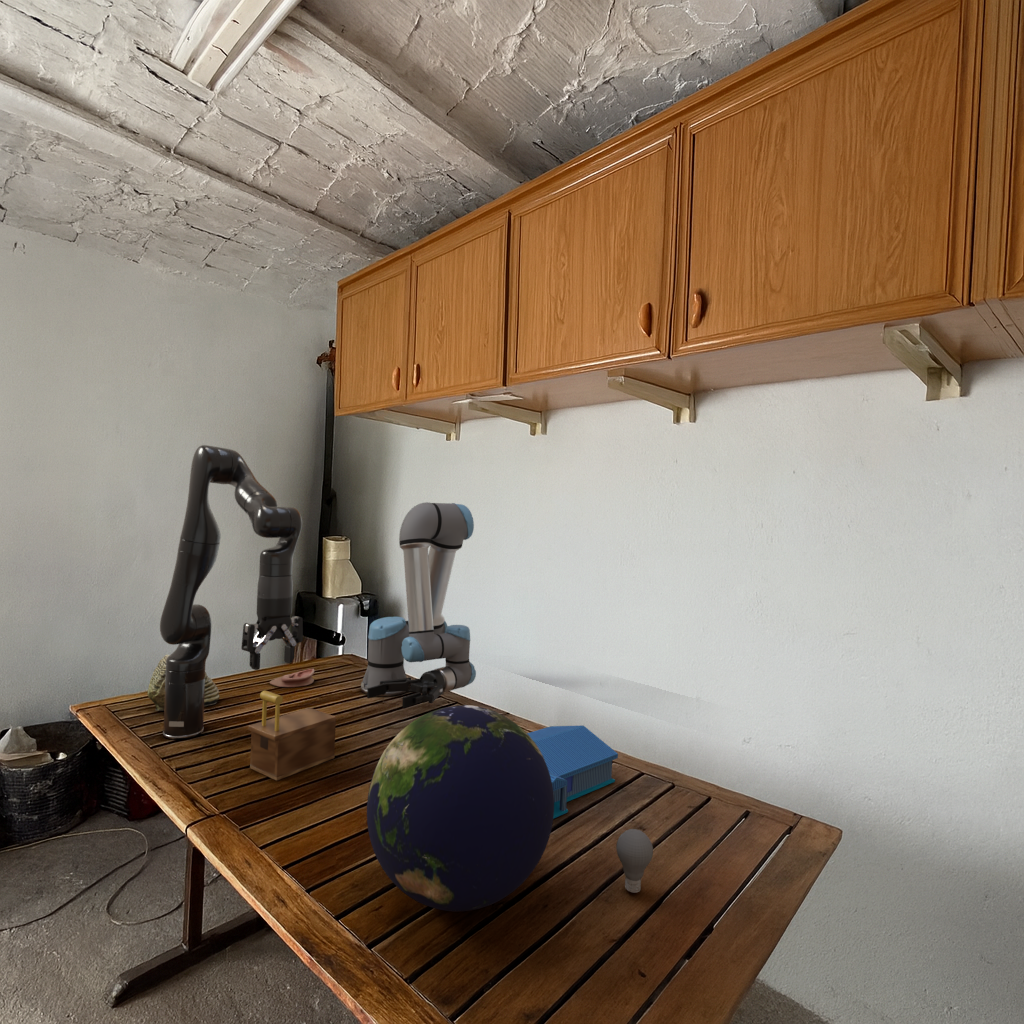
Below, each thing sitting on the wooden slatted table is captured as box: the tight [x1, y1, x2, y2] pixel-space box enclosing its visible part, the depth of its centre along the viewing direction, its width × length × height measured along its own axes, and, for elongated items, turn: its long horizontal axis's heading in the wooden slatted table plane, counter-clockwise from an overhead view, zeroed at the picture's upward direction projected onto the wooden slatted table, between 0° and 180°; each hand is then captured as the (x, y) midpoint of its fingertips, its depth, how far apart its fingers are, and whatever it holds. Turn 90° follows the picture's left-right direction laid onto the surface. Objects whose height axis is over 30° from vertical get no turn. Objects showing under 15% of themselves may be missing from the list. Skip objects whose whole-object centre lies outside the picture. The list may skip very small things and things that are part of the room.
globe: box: [366, 704, 554, 913], centre depth 102 cm, size 30×30×30 cm
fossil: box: [147, 654, 221, 712], centre depth 185 cm, size 9×18×15 cm, turn 132°
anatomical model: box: [269, 668, 315, 688], centre depth 212 cm, size 13×4×12 cm
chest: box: [249, 721, 337, 781], centre depth 150 cm, size 16×10×9 cm, turn 146°
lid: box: [247, 690, 337, 741], centre depth 149 cm, size 17×10×9 cm, turn 146°
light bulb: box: [615, 828, 654, 894], centre depth 106 cm, size 6×6×10 cm
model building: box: [526, 725, 619, 820], centre depth 140 cm, size 39×24×10 cm, turn 132°
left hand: (272, 665), depth 144 cm, fingers open, 8 cm apart
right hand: (385, 698), depth 173 cm, fingers open, 13 cm apart
